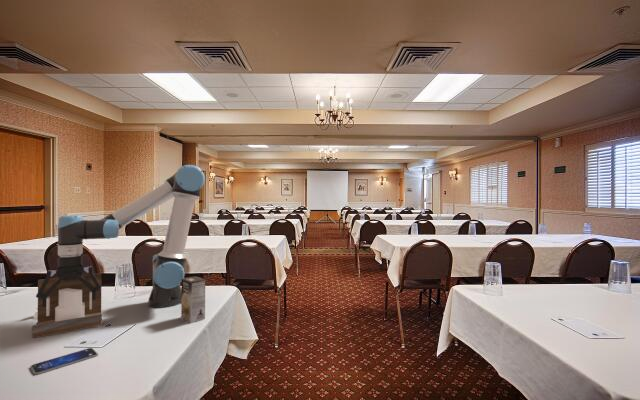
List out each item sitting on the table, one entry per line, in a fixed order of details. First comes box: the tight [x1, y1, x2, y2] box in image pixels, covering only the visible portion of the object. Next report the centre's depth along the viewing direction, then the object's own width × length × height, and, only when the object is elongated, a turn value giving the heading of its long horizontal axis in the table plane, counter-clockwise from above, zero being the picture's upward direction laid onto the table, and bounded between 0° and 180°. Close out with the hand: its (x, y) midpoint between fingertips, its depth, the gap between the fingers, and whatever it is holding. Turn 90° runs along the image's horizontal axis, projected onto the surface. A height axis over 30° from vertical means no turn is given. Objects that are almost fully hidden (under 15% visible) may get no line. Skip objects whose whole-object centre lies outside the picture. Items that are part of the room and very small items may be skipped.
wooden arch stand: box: [31, 272, 103, 339], centre depth 122 cm, size 14×20×18 cm
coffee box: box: [180, 275, 206, 324], centre depth 129 cm, size 9×6×16 cm
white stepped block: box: [55, 288, 85, 322], centre depth 122 cm, size 9×9×12 cm
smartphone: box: [29, 347, 99, 376], centre depth 94 cm, size 7×1×15 cm
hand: (70, 311), depth 122 cm, fingers open, 12 cm apart
